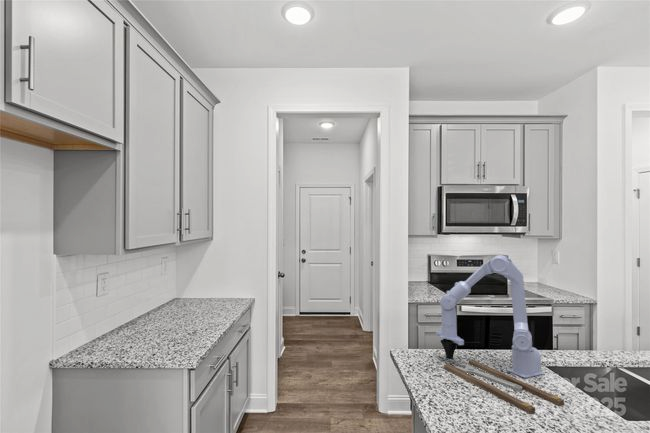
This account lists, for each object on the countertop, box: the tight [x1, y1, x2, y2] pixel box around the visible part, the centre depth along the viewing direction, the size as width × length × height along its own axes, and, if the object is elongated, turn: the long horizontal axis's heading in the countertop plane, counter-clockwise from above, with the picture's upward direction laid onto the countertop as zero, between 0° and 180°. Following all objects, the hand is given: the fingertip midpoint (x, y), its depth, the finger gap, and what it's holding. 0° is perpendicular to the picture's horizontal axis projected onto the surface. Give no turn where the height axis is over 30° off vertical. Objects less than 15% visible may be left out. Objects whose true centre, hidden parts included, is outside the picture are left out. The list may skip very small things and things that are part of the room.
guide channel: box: [443, 359, 565, 415], centre depth 128 cm, size 14×38×2 cm, turn 21°
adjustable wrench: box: [455, 363, 523, 392], centre depth 133 cm, size 25×6×2 cm, turn 29°
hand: (449, 358), depth 150 cm, fingers closed
